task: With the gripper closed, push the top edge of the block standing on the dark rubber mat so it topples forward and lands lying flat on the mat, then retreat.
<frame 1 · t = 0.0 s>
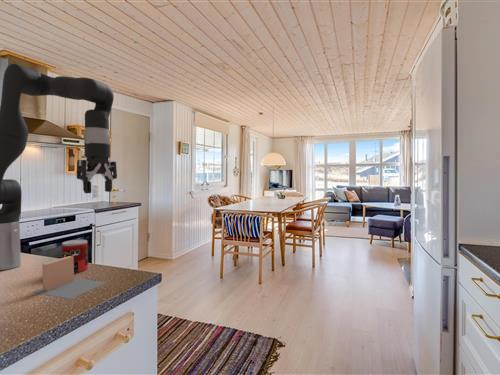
hand: (98, 192, 97), 29 cm above the counter, fingers open, 8 cm apart
block: (59, 285, 92), point 1 cm above the counter, touching mat
canned food: (75, 272, 107), on the counter
mat: (70, 289, 91), on the counter
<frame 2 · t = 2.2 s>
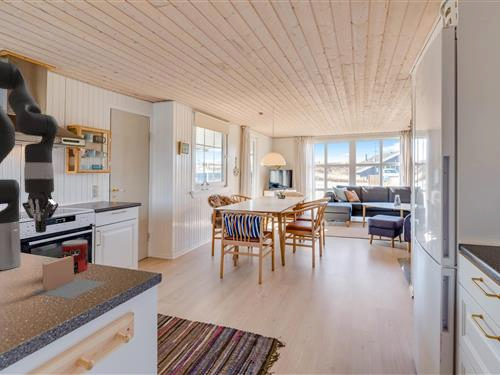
hand: (41, 232, 93), 17 cm above the counter, fingers closed
nothing on the counter moved.
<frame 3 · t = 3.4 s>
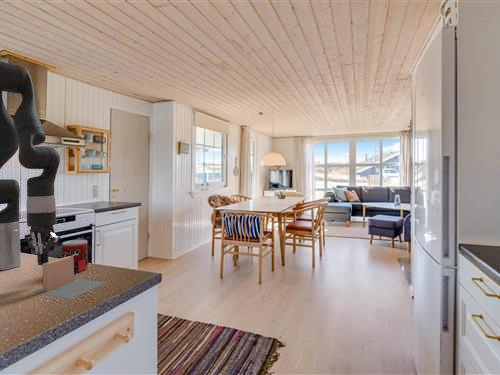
hand: (43, 264, 94), 7 cm above the counter, fingers closed
nothing on the counter moved.
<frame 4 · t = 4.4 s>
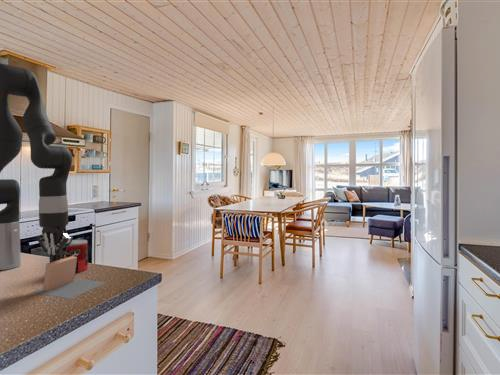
hand: (55, 265, 92), 7 cm above the counter, fingers closed
block: (59, 284, 92), point 1 cm above the counter, tilted 11°, touching gripper, mat
everything else where it was.
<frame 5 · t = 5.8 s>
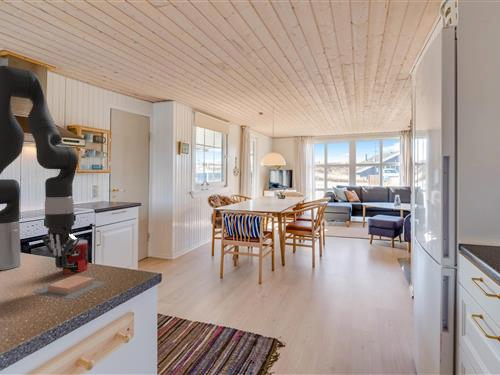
hand: (61, 267, 91), 6 cm above the counter, fingers closed
block: (61, 283, 92), point 1 cm above the counter, tilted 90°, touching mat
everything else where it was.
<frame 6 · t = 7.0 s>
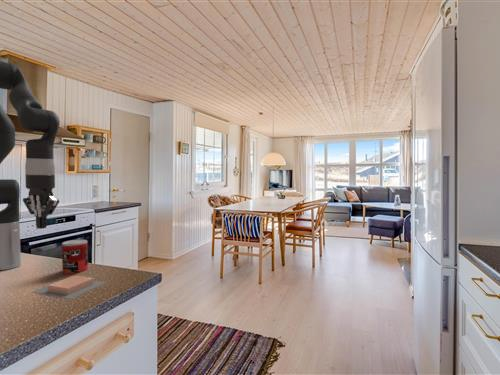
hand: (41, 228, 94), 18 cm above the counter, fingers closed
nothing on the counter moved.
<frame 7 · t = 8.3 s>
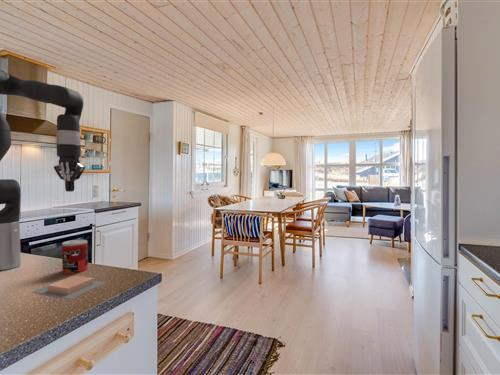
hand: (69, 191, 109), 29 cm above the counter, fingers closed
nothing on the counter moved.
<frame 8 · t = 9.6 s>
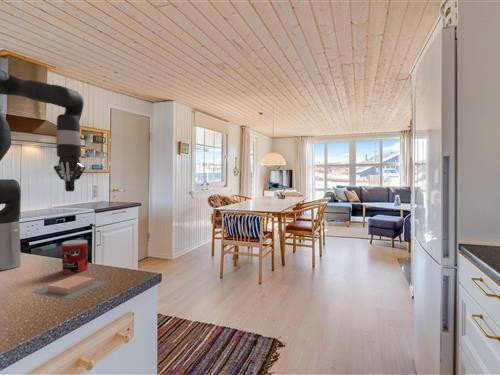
hand: (70, 191, 109), 29 cm above the counter, fingers closed
nothing on the counter moved.
at the end: block tilted 90°; block inside the target area (4.0 cm from its centre), point 1.5 cm above the counter; the gripper is holding nothing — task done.
